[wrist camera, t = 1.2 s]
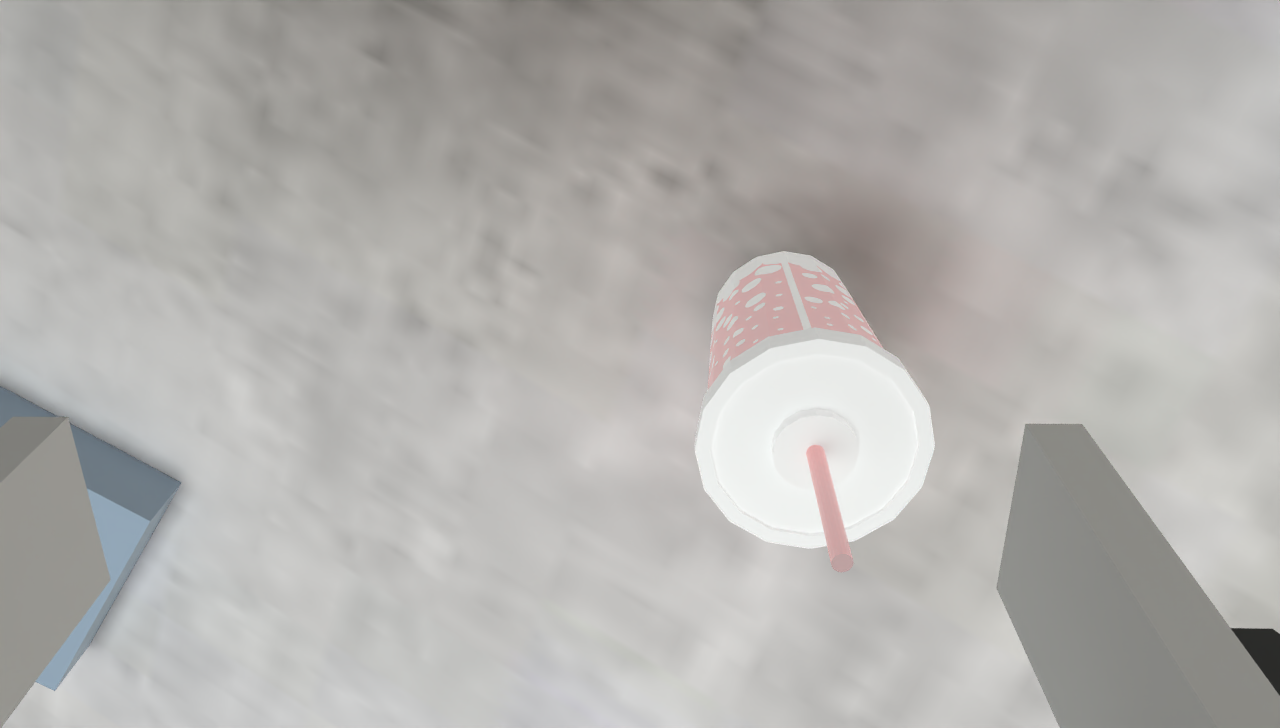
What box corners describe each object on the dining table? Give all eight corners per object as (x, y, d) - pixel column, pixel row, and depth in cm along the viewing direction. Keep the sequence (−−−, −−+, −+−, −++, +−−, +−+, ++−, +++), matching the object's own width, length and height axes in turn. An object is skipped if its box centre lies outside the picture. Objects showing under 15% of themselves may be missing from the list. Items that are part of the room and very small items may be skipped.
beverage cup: (691, 401, 37) (700, 677, 24) (688, 230, 35) (697, 439, 22) (870, 398, 37) (973, 675, 24) (880, 226, 34) (1002, 434, 22)
